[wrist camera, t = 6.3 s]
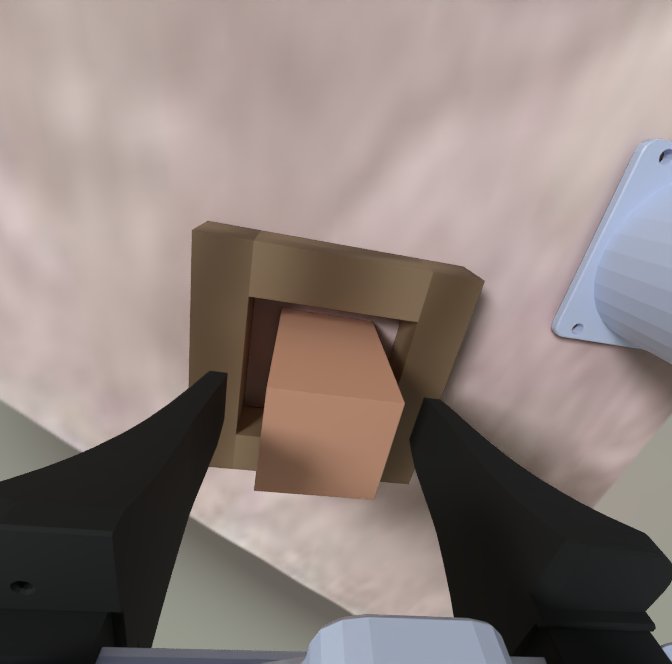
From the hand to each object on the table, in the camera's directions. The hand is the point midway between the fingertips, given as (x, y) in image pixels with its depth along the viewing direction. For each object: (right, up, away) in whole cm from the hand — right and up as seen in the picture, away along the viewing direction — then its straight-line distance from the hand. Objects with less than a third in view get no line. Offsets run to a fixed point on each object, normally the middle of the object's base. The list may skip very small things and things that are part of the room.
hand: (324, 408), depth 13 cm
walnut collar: (0, +2, +3) cm, 4 cm away
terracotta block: (0, +2, +3) cm, 4 cm away
